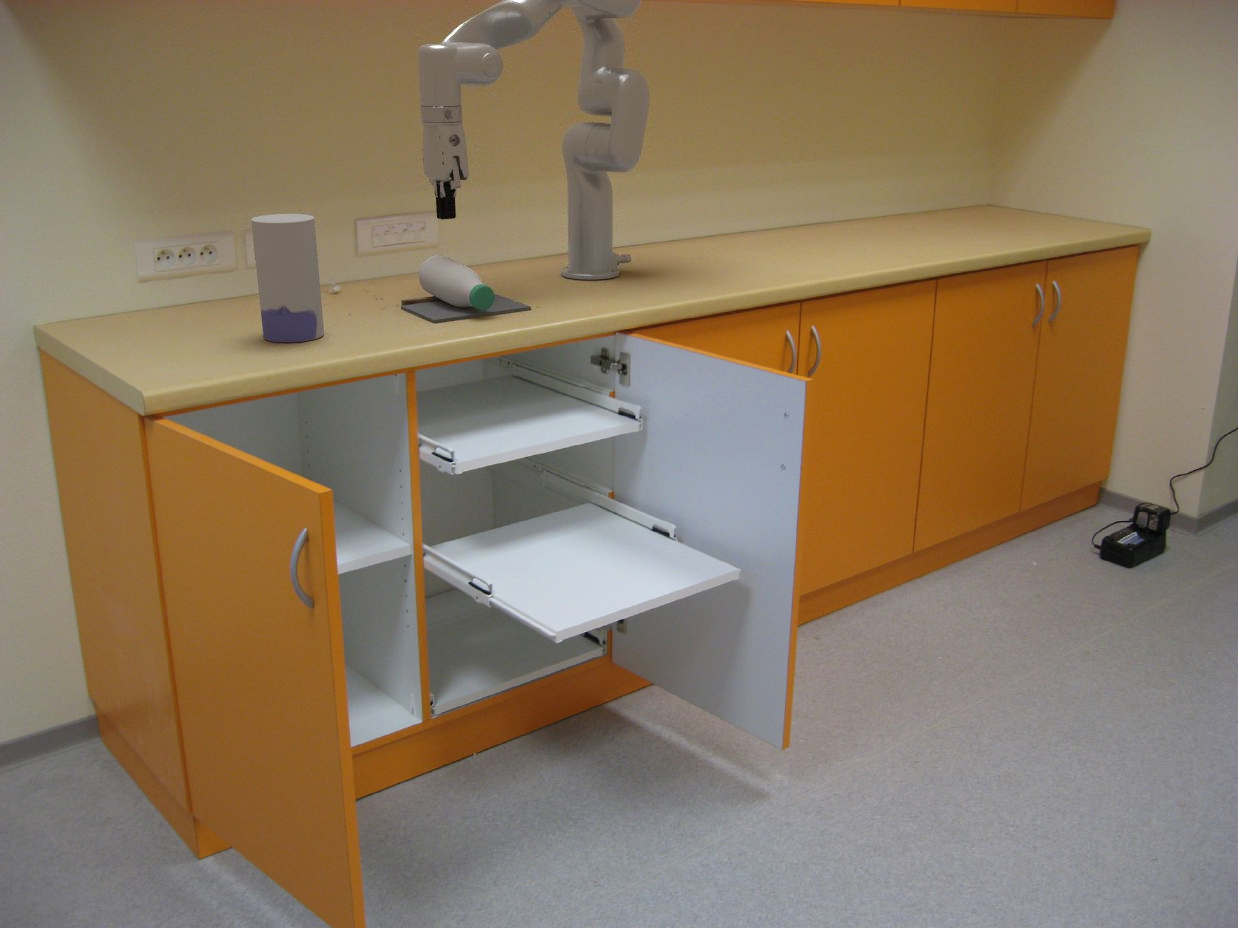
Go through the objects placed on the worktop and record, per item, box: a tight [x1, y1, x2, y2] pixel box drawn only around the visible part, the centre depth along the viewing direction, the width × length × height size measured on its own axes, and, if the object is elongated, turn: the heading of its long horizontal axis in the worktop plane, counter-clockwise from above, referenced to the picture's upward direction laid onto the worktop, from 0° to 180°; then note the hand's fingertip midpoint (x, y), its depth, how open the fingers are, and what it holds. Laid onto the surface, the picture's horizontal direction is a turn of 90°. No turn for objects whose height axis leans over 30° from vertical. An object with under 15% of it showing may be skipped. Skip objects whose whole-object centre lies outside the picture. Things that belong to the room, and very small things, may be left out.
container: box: [250, 213, 325, 343], centre depth 192 cm, size 10×10×20 cm
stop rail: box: [401, 295, 442, 306], centre depth 222 cm, size 18×1×1 cm, turn 124°
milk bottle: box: [418, 254, 496, 310], centre depth 215 cm, size 8×8×20 cm
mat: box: [400, 293, 532, 324], centre depth 216 cm, size 20×14×1 cm
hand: (446, 218), depth 215 cm, fingers closed
